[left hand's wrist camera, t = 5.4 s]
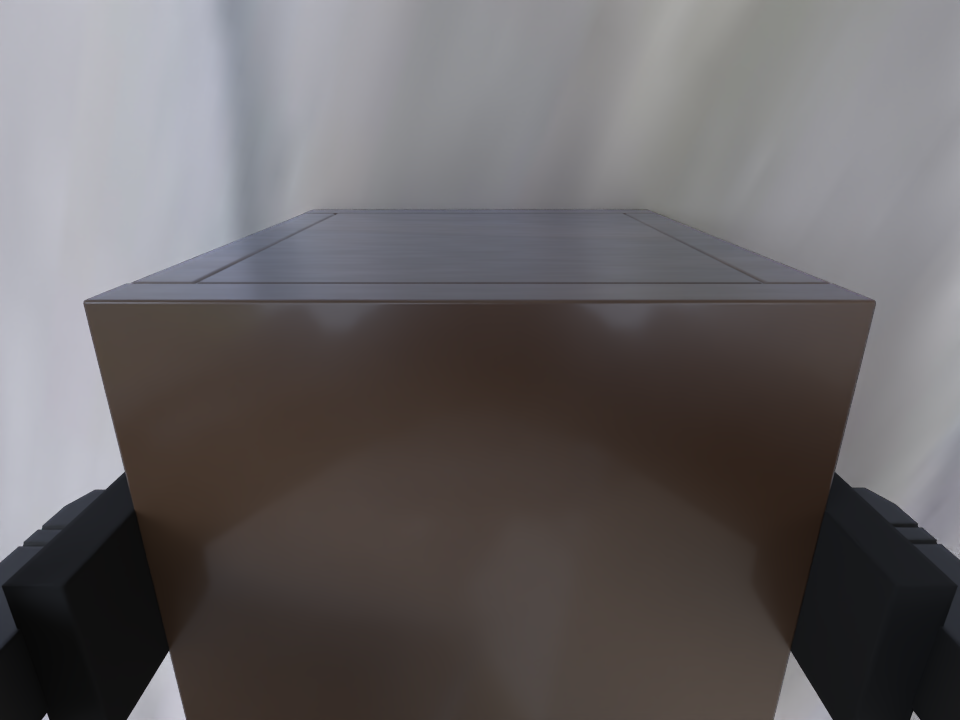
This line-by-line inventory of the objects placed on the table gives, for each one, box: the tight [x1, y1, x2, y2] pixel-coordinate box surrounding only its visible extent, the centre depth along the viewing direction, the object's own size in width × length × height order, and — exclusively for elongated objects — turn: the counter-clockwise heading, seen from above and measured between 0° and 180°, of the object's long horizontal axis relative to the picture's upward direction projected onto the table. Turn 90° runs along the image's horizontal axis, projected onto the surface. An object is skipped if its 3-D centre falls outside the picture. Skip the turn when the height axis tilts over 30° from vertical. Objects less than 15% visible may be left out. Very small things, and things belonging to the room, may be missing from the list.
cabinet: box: [84, 210, 876, 720], centre depth 16 cm, size 20×10×11 cm, turn 0°
